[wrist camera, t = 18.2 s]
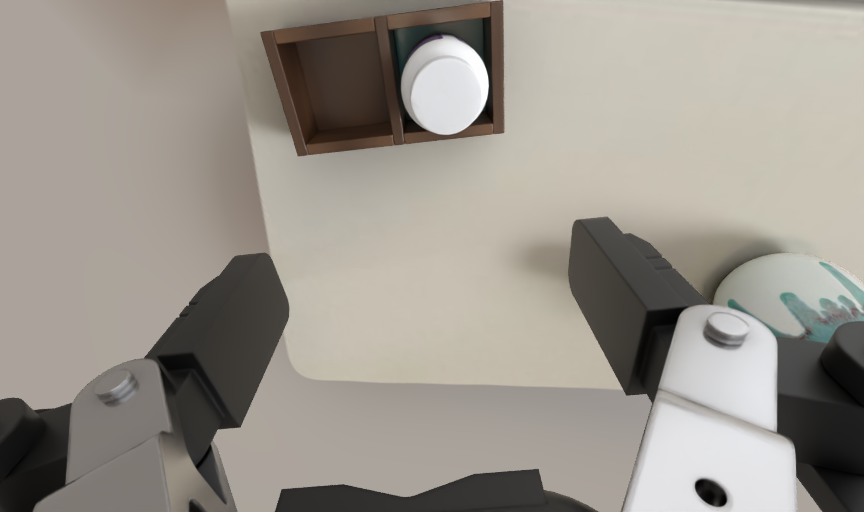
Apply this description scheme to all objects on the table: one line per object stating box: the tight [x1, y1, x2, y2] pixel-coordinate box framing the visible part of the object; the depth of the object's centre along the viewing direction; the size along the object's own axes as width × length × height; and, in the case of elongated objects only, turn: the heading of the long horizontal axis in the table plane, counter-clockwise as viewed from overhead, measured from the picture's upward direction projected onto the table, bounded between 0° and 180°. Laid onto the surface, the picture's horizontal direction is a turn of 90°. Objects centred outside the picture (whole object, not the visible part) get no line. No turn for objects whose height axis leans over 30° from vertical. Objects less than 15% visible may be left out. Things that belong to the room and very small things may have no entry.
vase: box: [713, 253, 864, 343], centre depth 34 cm, size 12×12×18 cm
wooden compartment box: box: [260, 0, 504, 156], centre depth 28 cm, size 15×8×5 cm, turn 96°
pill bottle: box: [401, 33, 489, 135], centre depth 25 cm, size 5×5×10 cm
